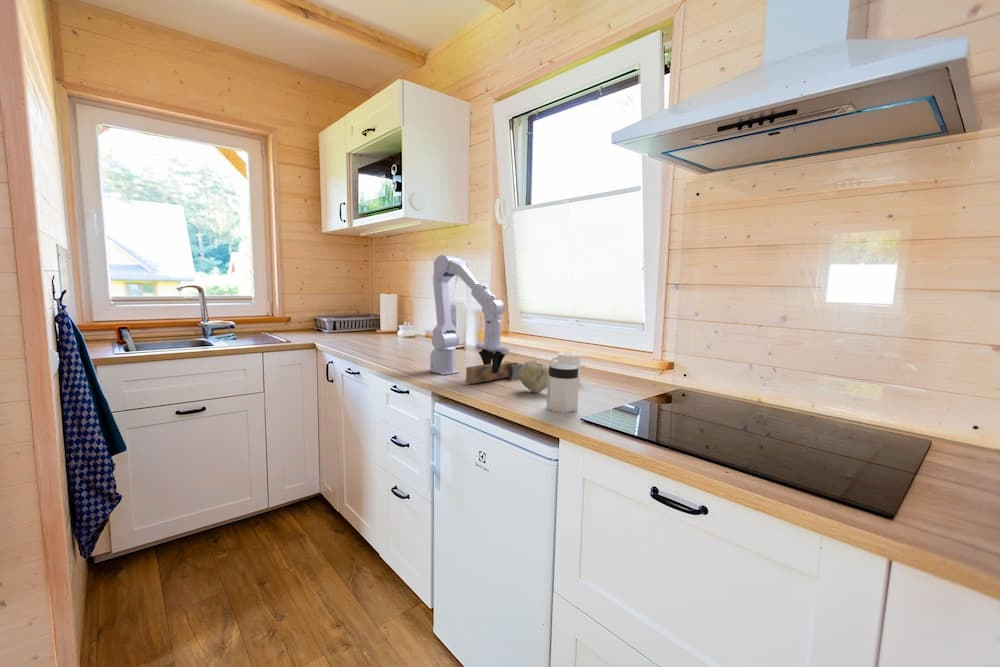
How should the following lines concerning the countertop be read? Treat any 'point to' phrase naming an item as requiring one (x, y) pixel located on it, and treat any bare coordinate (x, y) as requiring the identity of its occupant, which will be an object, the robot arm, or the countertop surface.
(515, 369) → the bracket
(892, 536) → the countertop surface
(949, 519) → the countertop surface
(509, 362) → the rail
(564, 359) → the mug
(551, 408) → the jar
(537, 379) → the decorative item
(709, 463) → the countertop surface
